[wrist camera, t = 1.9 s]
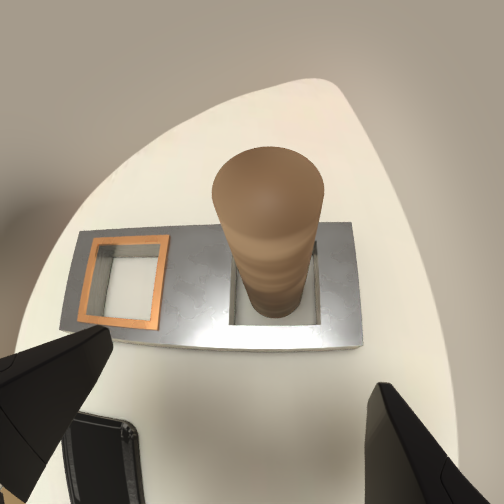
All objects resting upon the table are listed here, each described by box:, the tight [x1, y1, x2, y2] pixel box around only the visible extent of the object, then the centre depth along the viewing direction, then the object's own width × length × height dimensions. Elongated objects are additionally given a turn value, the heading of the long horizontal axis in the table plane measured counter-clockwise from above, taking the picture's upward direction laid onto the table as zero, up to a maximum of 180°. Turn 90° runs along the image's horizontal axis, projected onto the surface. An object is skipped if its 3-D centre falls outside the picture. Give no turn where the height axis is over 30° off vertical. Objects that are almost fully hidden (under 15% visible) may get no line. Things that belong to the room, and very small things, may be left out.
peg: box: [212, 147, 324, 318], centre depth 16 cm, size 4×4×13 cm
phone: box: [61, 411, 145, 504], centre depth 16 cm, size 8×1×15 cm
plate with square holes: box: [59, 222, 363, 352], centre depth 21 cm, size 23×9×3 cm, turn 89°
